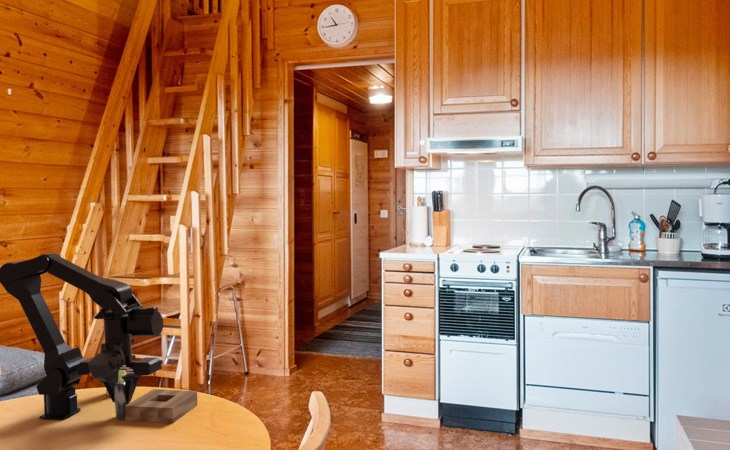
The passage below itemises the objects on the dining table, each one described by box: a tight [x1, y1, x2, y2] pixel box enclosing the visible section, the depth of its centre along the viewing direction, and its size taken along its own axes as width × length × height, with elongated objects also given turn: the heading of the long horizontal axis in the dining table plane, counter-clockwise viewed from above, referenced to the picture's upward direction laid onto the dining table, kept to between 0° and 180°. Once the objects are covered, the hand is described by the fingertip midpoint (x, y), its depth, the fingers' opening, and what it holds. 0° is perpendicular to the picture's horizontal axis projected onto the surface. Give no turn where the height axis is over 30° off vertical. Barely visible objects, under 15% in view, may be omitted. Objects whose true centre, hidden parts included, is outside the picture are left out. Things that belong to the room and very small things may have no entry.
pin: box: [113, 381, 130, 420], centre depth 136 cm, size 3×3×8 cm
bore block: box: [124, 388, 198, 424], centre depth 139 cm, size 12×12×4 cm
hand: (121, 401), depth 136 cm, fingers open, 3 cm apart
